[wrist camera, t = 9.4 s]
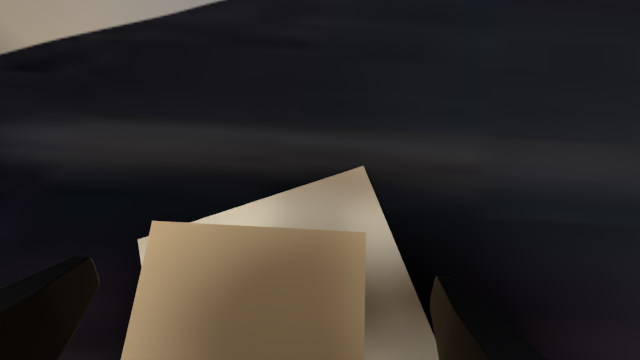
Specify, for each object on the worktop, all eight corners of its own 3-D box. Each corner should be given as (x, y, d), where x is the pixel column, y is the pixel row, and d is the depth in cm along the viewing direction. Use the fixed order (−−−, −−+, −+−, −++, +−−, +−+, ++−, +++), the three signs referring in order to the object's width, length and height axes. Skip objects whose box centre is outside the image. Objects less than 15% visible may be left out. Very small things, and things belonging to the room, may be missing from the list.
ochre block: (341, 389, 15) (362, 507, 6) (226, 380, 15) (92, 484, 6) (345, 268, 16) (365, 232, 8) (242, 262, 17) (152, 220, 8)
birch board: (459, 412, 15) (468, 419, 14) (193, 521, 14) (184, 536, 13) (361, 172, 19) (363, 165, 18) (147, 242, 18) (137, 239, 17)
